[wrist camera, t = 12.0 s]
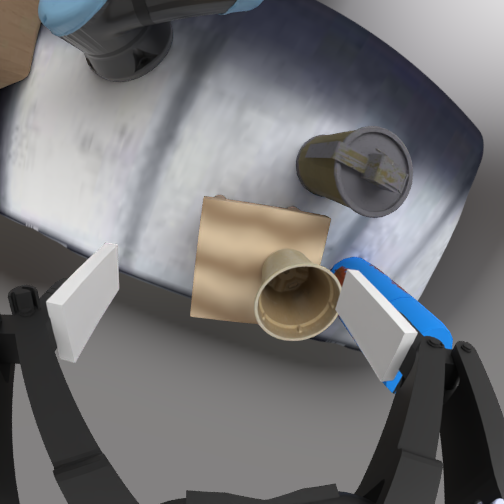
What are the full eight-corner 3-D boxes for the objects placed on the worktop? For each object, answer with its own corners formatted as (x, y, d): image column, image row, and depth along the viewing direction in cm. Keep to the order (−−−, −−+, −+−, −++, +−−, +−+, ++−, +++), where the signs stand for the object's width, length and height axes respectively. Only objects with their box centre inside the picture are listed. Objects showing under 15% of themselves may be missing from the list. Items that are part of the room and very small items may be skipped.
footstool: (208, 188, 45) (203, 198, 34) (305, 203, 47) (331, 218, 36) (197, 280, 50) (190, 316, 38) (286, 291, 52) (302, 327, 40)
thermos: (325, 313, 54) (380, 405, 31) (320, 263, 51) (388, 345, 27) (375, 299, 54) (445, 376, 31) (373, 250, 51) (460, 314, 27)
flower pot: (287, 314, 40) (300, 353, 32) (233, 277, 37) (235, 314, 29) (334, 264, 37) (359, 296, 29) (282, 220, 35) (298, 244, 27)
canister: (362, 151, 45) (437, 154, 26) (340, 205, 48) (405, 237, 29) (307, 123, 43) (362, 103, 24) (283, 180, 46) (325, 197, 27)
